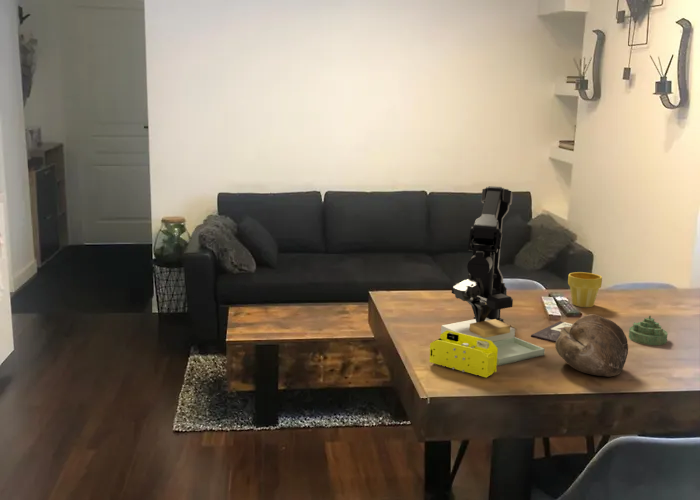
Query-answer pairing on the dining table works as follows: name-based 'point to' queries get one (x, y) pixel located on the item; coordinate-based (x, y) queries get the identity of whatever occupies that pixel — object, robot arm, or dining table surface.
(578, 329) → the seashell
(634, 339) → the decorative artifact
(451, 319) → the dining table surface
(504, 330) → the tan curved block
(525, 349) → the tray
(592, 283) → the plant pot
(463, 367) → the yellow toy chassis
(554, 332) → the chocolate bar
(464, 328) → the block
